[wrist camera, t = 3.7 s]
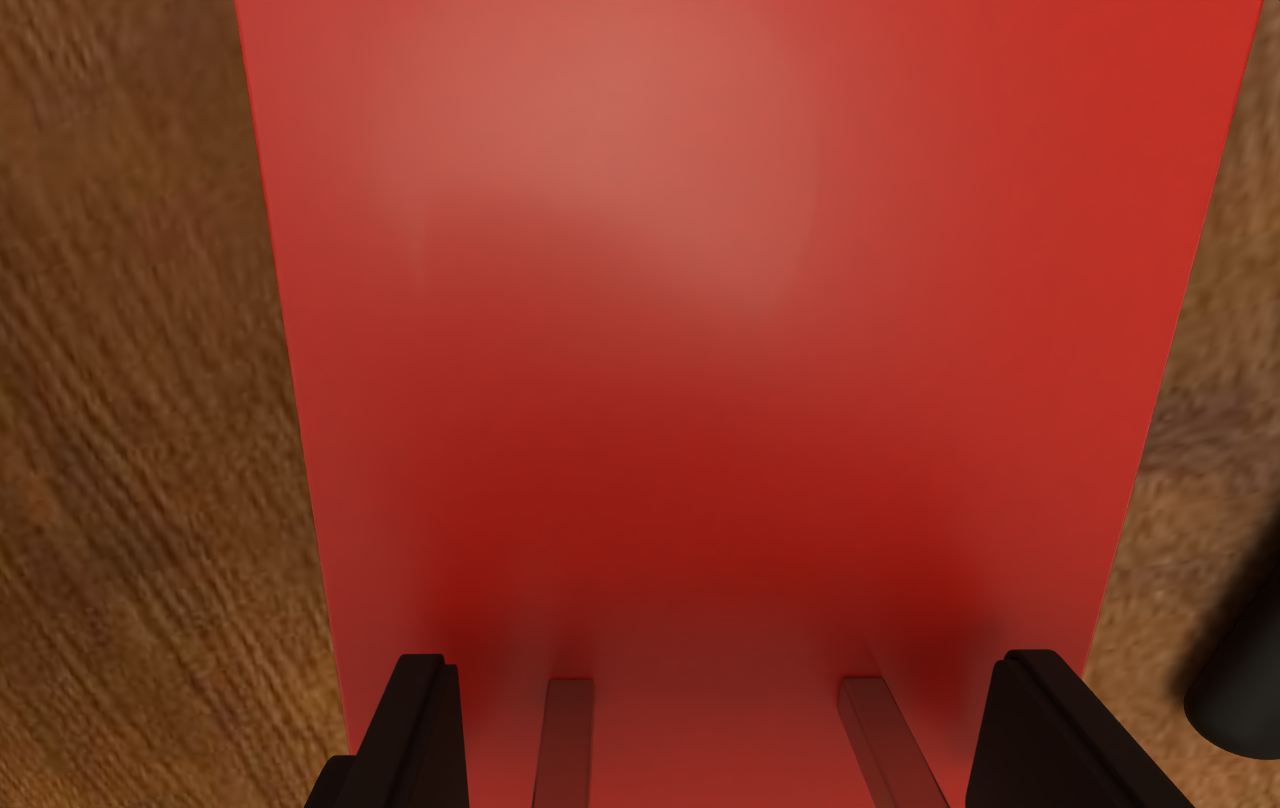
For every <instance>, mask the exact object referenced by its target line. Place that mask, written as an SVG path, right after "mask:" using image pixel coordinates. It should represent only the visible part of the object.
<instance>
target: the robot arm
mask: <svg viewBox="0 0 1280 808" xmlns="http://www.w3.org/2000/svg"><path fill="white" fill-rule="evenodd" d="M304 808H470V806H469V793H468V781H467V769H466V757H465V746H464V734H463V722H462V710H461V699H460V687H459V675H458V668H457V665H456V664H445V659H444V656H443V654H402V655H401V656H400V658H399V659H398V661H397V663H396V666H395V668H394V670H393V672H392V675H391V677H390V679H389V682H388V684H387V686H386V688H385V691H384V693H383V695H382V698H381V700H380V702H379V704H378V707H377V709H376V711H375V713H374V716H373V718H372V720H371V723H370V725H369V727H368V729H367V732H366V734H365V736H364V739H363V741H362V743H361V745H360V748H359V750H358V752H357V754H356V755H339V756H333V757H331V758H330V759H329V760H328V761H327V763H326V764H325V766H324V768H323V769H322V771H321V773H320V775H319V777H318V779H317V781H316V783H315V785H314V787H313V789H312V791H311V794H310V796H309V798H308V800H307V802H306V804H305V806H304ZM965 808H1195V807H1194V806H1193V805H1192V804H1191V803H1190V802H1189V800H1188V799H1187V798H1186V797H1185V796H1184V795H1183V794H1182V793H1181V791H1180V790H1179V789H1178V788H1177V787H1176V786H1175V785H1174V784H1173V782H1172V781H1171V780H1170V779H1169V778H1168V777H1167V776H1166V775H1165V773H1164V772H1163V771H1162V770H1161V769H1160V768H1159V767H1158V765H1157V764H1156V763H1155V762H1154V761H1153V760H1152V759H1151V758H1150V756H1149V755H1148V754H1147V753H1146V752H1145V751H1144V750H1143V749H1142V747H1141V746H1140V745H1139V744H1138V743H1137V742H1136V741H1135V740H1134V738H1133V737H1132V736H1131V735H1130V734H1129V733H1128V732H1127V731H1126V729H1125V728H1124V727H1123V726H1122V725H1121V724H1120V723H1119V722H1118V720H1117V719H1116V718H1115V717H1114V716H1113V715H1112V714H1111V713H1110V711H1109V710H1108V709H1107V708H1106V707H1105V706H1104V705H1103V704H1102V702H1101V701H1100V700H1099V699H1098V698H1097V697H1096V696H1095V695H1094V693H1093V692H1092V691H1091V690H1090V689H1089V688H1088V687H1087V686H1086V684H1085V683H1084V682H1083V681H1082V680H1081V679H1080V678H1079V677H1078V675H1077V674H1076V673H1075V672H1074V671H1073V670H1072V669H1071V668H1070V666H1069V665H1068V664H1067V663H1066V662H1065V661H1064V660H1063V659H1062V657H1061V656H1060V655H1059V654H1057V653H1056V652H1055V651H1053V650H1050V649H1013V650H1009V651H1008V652H1007V653H1006V654H1005V656H1004V659H1003V660H998V661H997V662H996V663H995V665H994V667H993V671H992V676H991V681H990V685H989V690H988V694H987V699H986V704H985V708H984V713H983V718H982V722H981V727H980V732H979V736H978V741H977V745H976V750H975V755H974V759H973V764H972V769H971V773H970V778H969V783H968V787H967V792H966V797H965Z"/></svg>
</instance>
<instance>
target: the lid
mask: <svg viewBox="0 0 1280 808" xmlns="http://www.w3.org/2000/svg"><path fill="white" fill-rule="evenodd" d="M1263 1H1264V0H234V2H235V9H236V15H237V22H238V28H239V35H240V41H241V48H242V54H243V61H244V68H245V74H246V81H247V87H248V94H249V100H250V107H251V113H252V120H253V126H254V133H255V139H256V146H257V152H258V159H259V165H260V172H261V178H262V185H263V191H264V198H265V204H266V211H267V217H268V224H269V231H270V237H271V244H272V250H273V257H274V263H275V270H276V276H277V283H278V289H279V296H280V302H281V309H282V315H283V322H284V328H285V335H286V341H287V348H288V354H289V361H290V367H291V374H292V380H293V387H294V393H295V400H296V407H297V413H298V420H299V426H300V433H301V439H302V446H303V452H304V459H305V465H306V472H307V478H308V485H309V491H310V498H311V504H312V511H313V517H314V524H315V530H316V537H317V543H318V550H319V556H320V563H321V570H322V576H323V583H324V589H325V596H326V602H327V609H328V615H329V622H330V628H331V635H332V641H333V648H334V654H335V661H336V667H337V674H338V680H339V687H340V693H341V700H342V706H343V713H344V719H345V726H346V733H347V739H348V746H349V752H350V755H356V754H357V752H358V750H359V748H360V745H361V743H362V741H363V739H364V736H365V734H366V732H367V729H368V727H369V725H370V723H371V720H372V718H373V716H374V713H375V711H376V709H377V707H378V704H379V702H380V700H381V698H382V695H383V693H384V691H385V688H386V686H387V684H388V682H389V679H390V677H391V675H392V672H393V670H394V668H395V666H396V663H397V661H398V659H399V658H400V656H401V655H402V654H443V656H444V659H445V664H456V665H457V668H458V675H459V687H460V699H461V710H462V722H463V734H464V746H465V757H466V769H467V781H468V793H469V806H470V808H965V797H966V792H967V787H968V783H969V778H970V773H971V769H972V764H973V759H974V755H975V750H976V745H977V741H978V736H979V732H980V727H981V722H982V718H983V713H984V708H985V704H986V699H987V694H988V690H989V685H990V681H991V676H992V671H993V667H994V665H995V663H996V662H997V661H998V660H1003V659H1004V656H1005V654H1006V653H1007V652H1008V651H1009V650H1013V649H1050V650H1053V651H1055V652H1056V653H1057V654H1059V655H1060V656H1061V657H1062V659H1063V660H1064V661H1065V662H1066V663H1067V664H1068V665H1069V666H1070V668H1071V669H1072V670H1073V671H1074V672H1075V673H1076V674H1077V675H1078V677H1079V678H1080V679H1081V680H1082V678H1083V674H1084V670H1085V667H1086V663H1087V659H1088V655H1089V652H1090V648H1091V644H1092V640H1093V637H1094V633H1095V629H1096V625H1097V622H1098V618H1099V614H1100V610H1101V607H1102V603H1103V599H1104V596H1105V592H1106V588H1107V584H1108V581H1109V577H1110V573H1111V569H1112V566H1113V562H1114V558H1115V554H1116V551H1117V547H1118V543H1119V539H1120V536H1121V532H1122V528H1123V525H1124V521H1125V517H1126V513H1127V510H1128V506H1129V502H1130V498H1131V495H1132V491H1133V487H1134V483H1135V480H1136V476H1137V472H1138V468H1139V465H1140V461H1141V457H1142V454H1143V450H1144V446H1145V442H1146V439H1147V435H1148V431H1149V427H1150V424H1151V420H1152V416H1153V412H1154V409H1155V405H1156V401H1157V397H1158V394H1159V390H1160V386H1161V383H1162V379H1163V375H1164V371H1165V368H1166V364H1167V360H1168V356H1169V353H1170V349H1171V345H1172V341H1173V338H1174V334H1175V330H1176V326H1177V323H1178V319H1179V315H1180V311H1181V308H1182V304H1183V300H1184V297H1185V293H1186V289H1187V285H1188V282H1189V278H1190V274H1191V270H1192V267H1193V263H1194V259H1195V255H1196V252H1197V248H1198V244H1199V240H1200V237H1201V233H1202V229H1203V226H1204V222H1205V218H1206V214H1207V211H1208V207H1209V203H1210V199H1211V196H1212V192H1213V188H1214V184H1215V181H1216V177H1217V173H1218V169H1219V166H1220V162H1221V158H1222V155H1223V151H1224V147H1225V143H1226V140H1227V136H1228V132H1229V128H1230V125H1231V121H1232V117H1233V113H1234V110H1235V106H1236V102H1237V98H1238V95H1239V91H1240V87H1241V84H1242V80H1243V76H1244V72H1245V69H1246V65H1247V61H1248V57H1249V54H1250V50H1251V46H1252V42H1253V39H1254V35H1255V31H1256V27H1257V24H1258V20H1259V16H1260V13H1261V9H1262V5H1263Z"/></svg>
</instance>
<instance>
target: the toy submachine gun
mask: <svg viewBox="0 0 1280 808" xmlns="http://www.w3.org/2000/svg"><path fill="white" fill-rule="evenodd" d="M1184 710H1185V714H1186V716H1187V718H1188V720H1189V722H1190V723H1191V725H1192V726H1193V727H1194V728H1195V730H1196V731H1197V732H1198V733H1199V734H1200V735H1202V736H1203V737H1204V738H1205V739H1207V740H1208V741H1209V742H1211V743H1213V744H1214V745H1216V746H1218V747H1220V748H1222V749H1224V750H1226V751H1228V752H1231V753H1233V754H1236V755H1240V756H1243V757H1247V758H1253V759H1261V760H1274V759H1280V563H1279V564H1278V566H1277V567H1276V569H1275V570H1274V571H1273V573H1272V574H1271V576H1270V577H1269V578H1268V580H1267V581H1266V583H1265V584H1264V585H1263V587H1262V588H1261V589H1260V591H1259V592H1258V594H1257V595H1256V596H1255V598H1254V599H1253V601H1252V602H1251V603H1250V605H1249V606H1248V608H1247V609H1246V610H1245V612H1244V613H1243V615H1242V616H1241V617H1240V619H1239V620H1238V622H1237V623H1236V624H1235V626H1234V627H1233V628H1232V630H1231V631H1230V633H1229V634H1228V635H1227V637H1226V638H1225V640H1224V641H1223V642H1222V644H1221V645H1220V647H1219V648H1218V649H1217V651H1216V652H1215V654H1214V655H1213V656H1212V658H1211V659H1210V661H1209V662H1208V663H1207V665H1206V666H1205V667H1204V669H1203V670H1202V672H1201V673H1200V674H1199V676H1198V677H1197V679H1196V680H1195V681H1194V683H1193V684H1192V686H1191V687H1190V688H1189V690H1188V691H1187V693H1186V695H1185V698H1184Z"/></svg>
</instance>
